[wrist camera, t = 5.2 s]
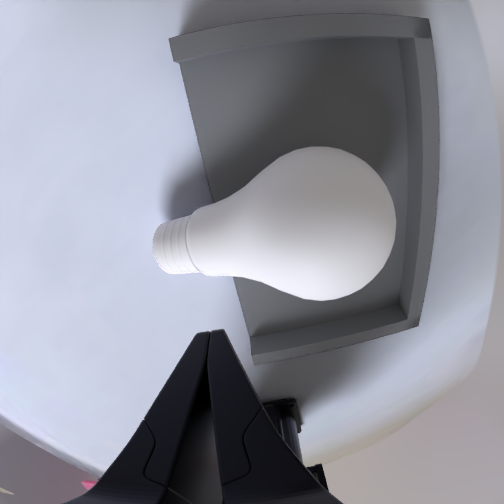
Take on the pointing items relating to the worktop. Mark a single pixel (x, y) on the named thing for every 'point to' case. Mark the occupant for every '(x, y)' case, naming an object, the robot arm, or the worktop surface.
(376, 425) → the worktop surface
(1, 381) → the worktop surface
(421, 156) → the tray
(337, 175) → the lightbulb
